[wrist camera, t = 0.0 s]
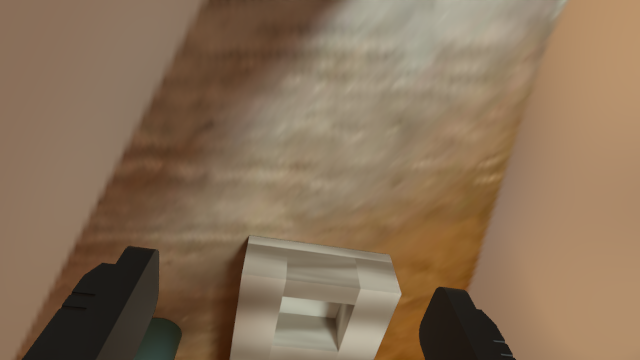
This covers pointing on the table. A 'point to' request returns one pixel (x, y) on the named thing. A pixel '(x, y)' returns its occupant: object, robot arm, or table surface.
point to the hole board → (312, 302)
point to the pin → (159, 341)
